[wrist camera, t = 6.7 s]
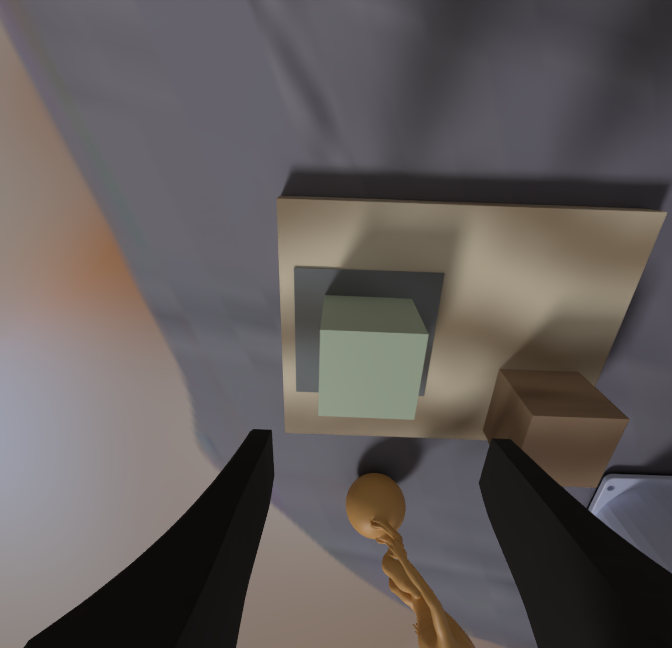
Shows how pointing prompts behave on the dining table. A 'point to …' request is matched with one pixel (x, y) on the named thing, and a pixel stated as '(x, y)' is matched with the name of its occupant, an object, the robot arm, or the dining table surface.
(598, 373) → the baseplate
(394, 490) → the figurine
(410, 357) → the sage block
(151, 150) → the dining table surface
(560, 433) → the walnut block
